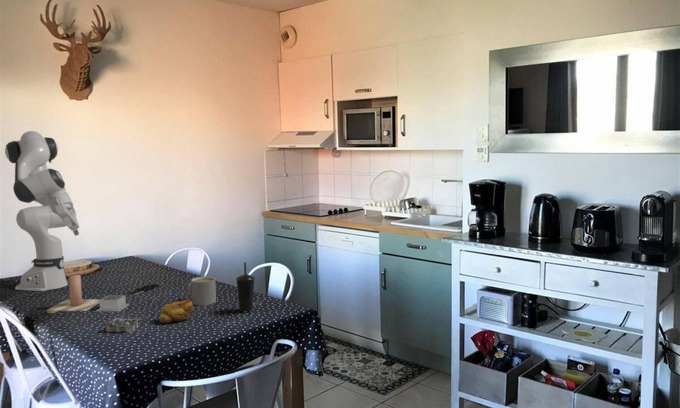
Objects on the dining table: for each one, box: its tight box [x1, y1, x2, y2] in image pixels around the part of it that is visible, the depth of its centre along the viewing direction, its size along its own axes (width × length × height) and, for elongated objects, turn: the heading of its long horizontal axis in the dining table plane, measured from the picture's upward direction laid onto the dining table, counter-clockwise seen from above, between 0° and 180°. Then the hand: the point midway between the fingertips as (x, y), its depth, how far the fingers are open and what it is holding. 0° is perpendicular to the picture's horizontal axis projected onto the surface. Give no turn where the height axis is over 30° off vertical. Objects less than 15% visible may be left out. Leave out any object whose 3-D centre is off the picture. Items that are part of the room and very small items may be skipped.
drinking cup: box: [235, 262, 256, 311], centre depth 224 cm, size 8×8×20 cm
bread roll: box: [158, 299, 194, 324], centre depth 213 cm, size 13×10×8 cm
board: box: [46, 298, 102, 314], centre depth 231 cm, size 16×16×1 cm
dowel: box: [68, 274, 83, 306], centre depth 230 cm, size 4×4×12 cm
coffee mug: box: [188, 276, 217, 307], centre depth 238 cm, size 13×10×10 cm
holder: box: [95, 295, 131, 312], centre depth 227 cm, size 10×10×5 cm
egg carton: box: [104, 317, 139, 333], centre depth 203 cm, size 11×8×4 cm
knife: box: [126, 283, 160, 296], centre depth 254 cm, size 25×6×1 cm, turn 154°
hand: (73, 231), depth 238 cm, fingers open, 8 cm apart
